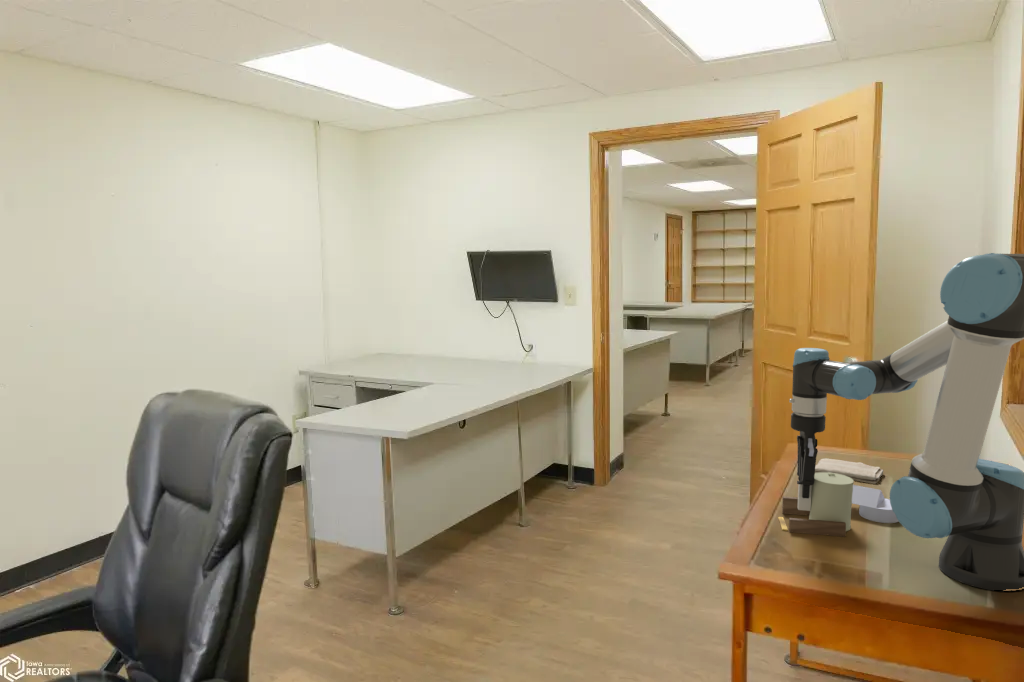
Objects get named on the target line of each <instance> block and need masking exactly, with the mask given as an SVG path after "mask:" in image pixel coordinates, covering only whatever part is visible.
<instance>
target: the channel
mask: <svg viewBox="0 0 1024 682" xmlns="http://www.w3.org/2000/svg"><path fill="white" fill-rule="evenodd" d="M797 506H798V496H797V497H795V496H782V506H781V507H782V510H781V512H782V514H784V515H785V514H786V515H788V514H789V515H797V516H799V515H801V516H810V511H805V510H798V508H797ZM777 519H778V521H779V525H780V528H781V531H786V532H789V533H797V534H798V533H799V534H808V535H809V534H810V535H820V536H822V535H823V536H833V537H844V538H845V537H846V533H847V531H846V523H845V522H836V521H824V520H811V519H809V518H808V519H807V518H797V517H794V518H793V517H788V526H787V524H786V521H785V518H784V517H783V516H778V517H777Z"/></svg>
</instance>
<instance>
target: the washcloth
mask: <svg viewBox="0 0 1024 682" xmlns="http://www.w3.org/2000/svg"><path fill="white" fill-rule="evenodd" d="M819 472H829V473H837V474H841V475H845V476H848V477H850V478H852V479H853V480H854V481H857V482H860V483H861V482H862V483H867V484H872V485H876V484H877V483H878V481H880V480H881V478H882V477H883V474H884V469H881V467H880V466H873V465H868V464H866V463H863V462H860V461H858V462H854V461H848V460H841V459H833V458H828V457H827V458H821V459H819V461H818V462H817V464H816V465H815V473H819ZM881 476H882V477H881ZM880 477H881V478H880Z"/></svg>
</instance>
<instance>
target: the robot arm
mask: <svg viewBox="0 0 1024 682" xmlns="http://www.w3.org/2000/svg"><path fill="white" fill-rule="evenodd" d="M939 291H940V292H939V294H940V295H939V296H940V297H939V299H940V302H941V304H943V307H942V308H943V311H944V312H945V313H946V314H947V315H948V319H947V320H946V321H944V322H943V323H941V324H939V325H937V326H936V327H934V328H932V329H930V330H929V331H927V332H926V333H924V334H922V335H921V336H918V337H917V338H915V339H914V340H912V341H911V342H908V343H907V344H905V345H904V346H902V347H900V348H899V349H897V350H895V351H894V352H893V353H891V354H889V355H887V356H885V357H883V358H882V359H877V360H867V361H853V362H852V361H851V362H841V361H835V360H831V359H830V357H829V356H830V354H829V350H827V349H823V348H817V347H800V348H798V349H796V350H795V351H794V354H793V363H792V386H791V387H792V391H791V393H792V395H791V396H792V398H789V403H791V411H792V413H791V414H790V428H791V429H793V430H794V431H796V432H799V435H797V436H796V441H797V471H796V475H797V480H796V483H797V485H798V487H797V497H798V506H797V508H798V510H805V511H811V490H812V485H813V484H814V475H815V466H816V465H817V464H816V462H817V456H818V452H819V451H818V448H817V447H818V438H816V434H817V433H823V432H824V431H826V420H827V419H826V416H825V414H826V413H827V401H828V397H827V395H828V394H829V395H833V396H837V397H841V398H844V399H846V400H856V401H864V400H866V399H867V398H868V397H870V396H872V395H875V394H876V395H878V394H889V393H893V394H894V393H900V392H904V391H909V390H911V389H912V388H914V387H915V386H916V384H917V382H918V380H919V379H921V378H923V377H925V376H928V375H930V374H931V373H933V372H935V371H937V370H939V369H940V368H943V367H944V366H945V370H944V373H943V377H942V381H941V384H940V385H941V386H940V387H939V388H940V389H939V392H938V396H937V398H936V399H937V400H936V404H935V408H934V412H933V415H932V419H931V423H930V427H929V431H928V434H927V439H926V442H925V446H924V450H923V452H922V453H919V454H917V455H915V456H913V458H912V459H911V463H910V467H909V470H908V474H907V476H906V475H905V476H902V477H900V478H899V479H896V480H895V482H893V484H892V485H891V487H890V491H889V499H890V504H891V507H892V510H893V512H894V513H895V514H896V517H897V519H898V521H899V524H900V525H901V526H902V527H903V528H904V529H905V530H906V531H908V532H909V533H911V534H912V535H915V536H917V537H919V538H921V539H937V538H938V539H943V538H946V537H947V539H946V541H945V542H944V545H943V547H942V548H941V551H940V552H939V557H938V568H939V570H941V572H942V573H943V574H945V575H946V576H948V578H951V579H953V580H955V581H957V582H959V583H962V584H965V585H968V586H970V587H971V586H972V587H974V588H978V589H979V588H980V589H983V590H988V591H994V590H1006V589H1019V588H1022V587H1024V546H1023V533H1024V531H1023V530H1024V471H1023V470H1021V469H1020V468H1018V467H1015V466H1012V465H1010V464H1006V463H1003V462H1000V461H993V460H989V459H988V460H987V459H983V458H980V456H981V453H982V448H983V446H984V442H985V438H986V435H987V432H988V428H989V425H990V421H991V418H992V414H993V411H994V407H995V403H996V402H997V401H996V400H997V397H998V394H999V390H1000V387H1001V383H1002V379H1003V377H1004V373H1005V369H1006V366H1007V363H1008V358H1009V355H1010V353H1011V349H1012V346H1013V345H1014V344H1017V343H1019V342H1020V341H1023V340H1024V253H995V252H990V253H984V254H979V255H977V254H976V255H973V256H969V257H966V258H964V259H963V260H960V261H959V262H957V263H956V264H955V265H954V266H952V267H951V268H950V270H948V272H947V273H946V275H945V276H944V278H943V281H942V283H941V286H940V290H939Z"/></svg>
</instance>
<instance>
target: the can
mask: <svg viewBox="0 0 1024 682" xmlns="http://www.w3.org/2000/svg"><path fill="white" fill-rule="evenodd" d="M854 481H855V480H853V479H852V478H850V477H848V476H845V475H841V474H837V473H829V472H819V473H815V475H814V484H813V485H812V490H811V511H810V515H808V519H811V520H824V521H836V522H845V523H846V532H849V531H851V527H852V526H851V520H852V519H851V518H852V505H853V504H852V493H853V485H854V483H855V482H854Z"/></svg>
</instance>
